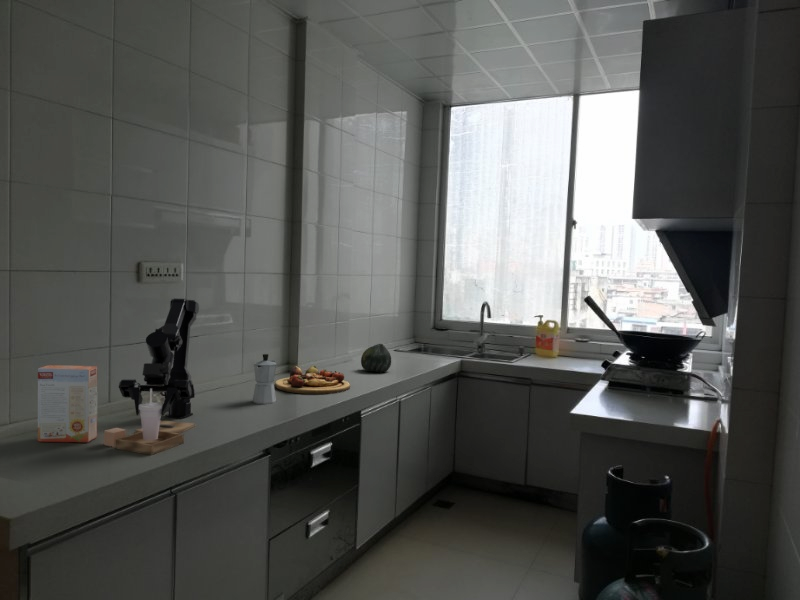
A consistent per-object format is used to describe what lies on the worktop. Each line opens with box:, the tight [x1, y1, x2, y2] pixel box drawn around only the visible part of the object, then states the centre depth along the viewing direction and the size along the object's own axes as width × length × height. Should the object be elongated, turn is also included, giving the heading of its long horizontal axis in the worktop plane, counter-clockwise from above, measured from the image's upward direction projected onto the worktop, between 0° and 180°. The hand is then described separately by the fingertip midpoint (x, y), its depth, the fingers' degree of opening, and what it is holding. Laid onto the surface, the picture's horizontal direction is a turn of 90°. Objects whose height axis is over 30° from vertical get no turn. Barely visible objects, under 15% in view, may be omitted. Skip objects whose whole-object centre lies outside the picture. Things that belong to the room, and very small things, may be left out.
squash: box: [360, 343, 392, 373], centre depth 302 cm, size 14×15×15 cm
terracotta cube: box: [103, 427, 127, 448], centre depth 169 cm, size 4×4×4 cm
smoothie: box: [138, 388, 164, 441], centre depth 169 cm, size 6×6×14 cm
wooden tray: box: [115, 430, 185, 456], centre depth 169 cm, size 12×12×2 cm
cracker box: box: [37, 364, 98, 443], centre depth 171 cm, size 14×6×21 cm, turn 92°
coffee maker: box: [252, 353, 277, 405], centre depth 229 cm, size 15×9×18 cm, turn 168°
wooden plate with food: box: [274, 365, 351, 395], centre depth 259 cm, size 32×32×8 cm
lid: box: [134, 419, 196, 434], centre depth 186 cm, size 12×12×1 cm
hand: (149, 414), depth 167 cm, fingers closed on smoothie, 6 cm apart
